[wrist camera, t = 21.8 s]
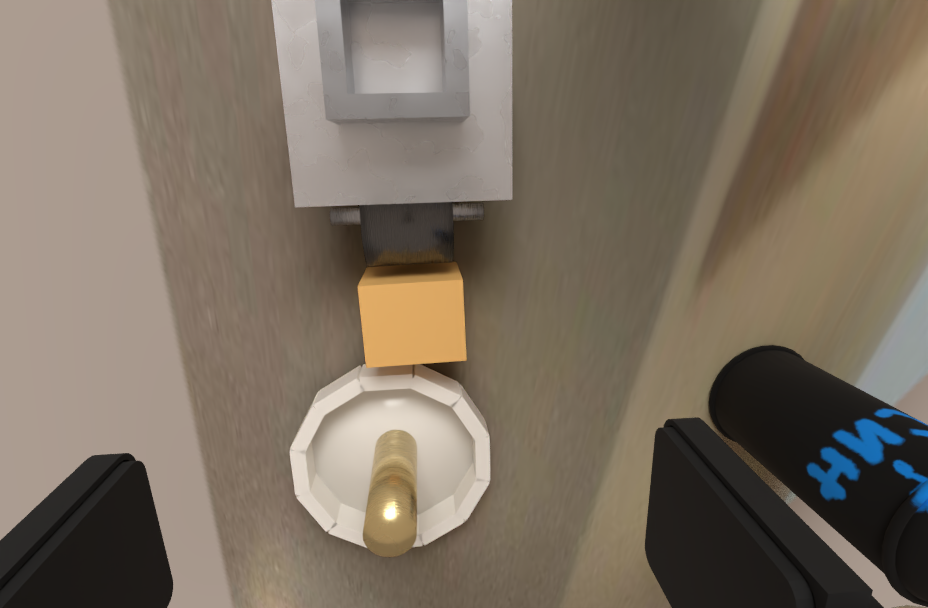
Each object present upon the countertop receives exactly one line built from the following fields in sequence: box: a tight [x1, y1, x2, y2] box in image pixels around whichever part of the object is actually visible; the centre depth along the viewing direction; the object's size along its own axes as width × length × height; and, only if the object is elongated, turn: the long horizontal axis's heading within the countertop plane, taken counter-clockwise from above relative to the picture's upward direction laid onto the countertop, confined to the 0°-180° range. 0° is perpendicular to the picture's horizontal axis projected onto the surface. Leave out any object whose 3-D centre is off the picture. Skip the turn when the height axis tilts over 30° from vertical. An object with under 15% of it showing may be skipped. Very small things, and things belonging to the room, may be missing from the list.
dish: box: [290, 364, 490, 548], centre depth 37 cm, size 13×13×3 cm
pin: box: [363, 430, 417, 557], centre depth 33 cm, size 3×3×9 cm
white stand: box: [271, 0, 512, 266], centre depth 28 cm, size 11×16×10 cm
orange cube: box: [358, 262, 467, 368], centre depth 33 cm, size 6×5×6 cm
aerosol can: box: [709, 345, 928, 607], centre depth 30 cm, size 8×8×20 cm
